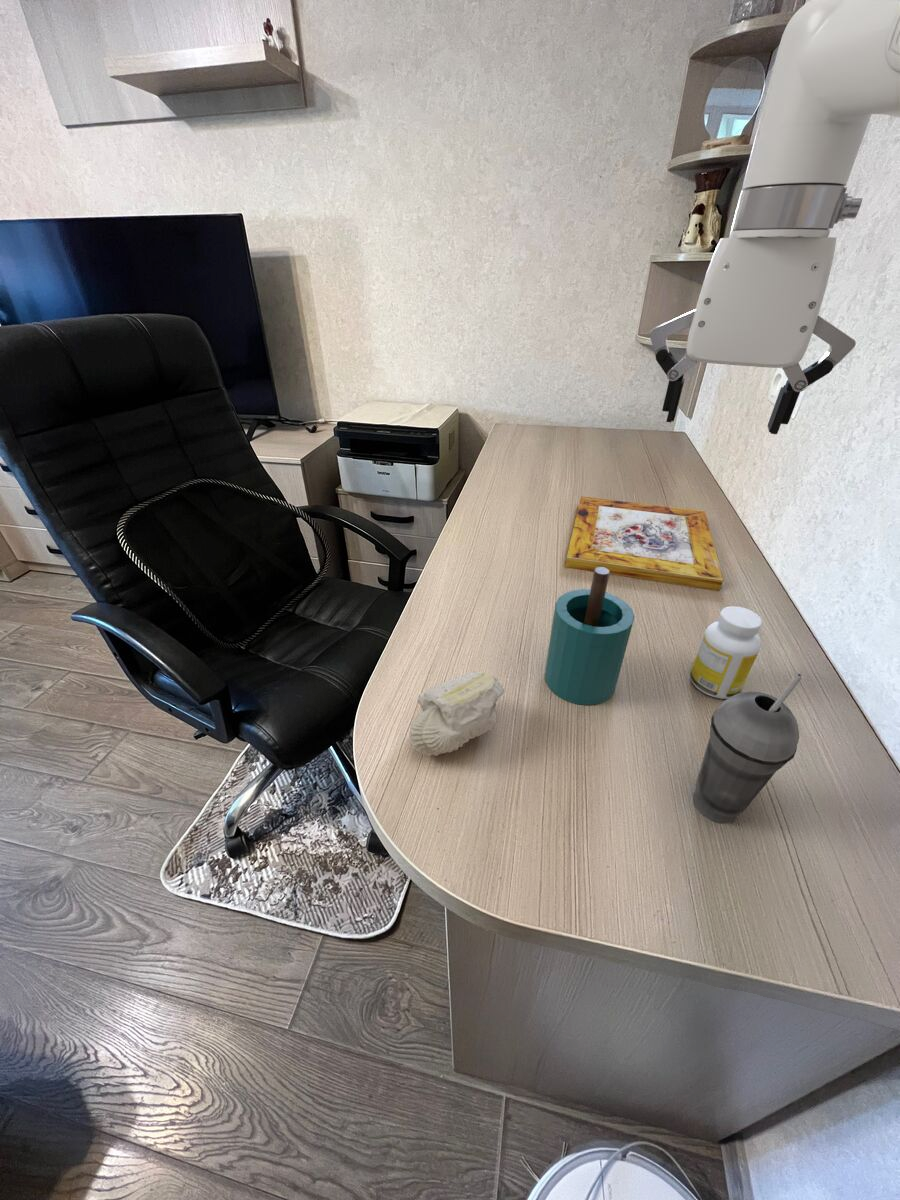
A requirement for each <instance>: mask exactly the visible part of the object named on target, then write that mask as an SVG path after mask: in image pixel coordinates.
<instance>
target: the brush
mask: <svg viewBox="0 0 900 1200" xmlns="http://www.w3.org/2000/svg"><path fill="white" fill-rule="evenodd" d="M610 575H611V574H610V571H609V570H608V569H607V568H604V567H597V568H595V570H594V571H593V575H592V580H591V585H590V589H589V590H590V594H589V600H588V605H587V610H586V615H585V620H584V624H586V625H590V626H593V627H598V624H599V620H600V615H601V611H602V606H603V601H604V597H605V592H607V587H608V582H609V578H610Z"/></svg>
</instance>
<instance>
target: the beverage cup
mask: <svg viewBox="0 0 900 1200" xmlns="http://www.w3.org/2000/svg"><path fill="white" fill-rule="evenodd" d="M803 677H804V675H803V674H802V673H801V672H797V673H796V674H795V676H793V678H792V679H791V681H790V682H789V683H788V685H786V687H785V688H784V690H783V691H782V692H781V694H780V695H779V696H778V697H776V696H773V695H771V694H769V693H765V692H761V691H752V690H751V691H749V690H748V691H744V692H740V693H738V694H736V695H733V696H732V697H730V698H728V699H724V701H723V702H721V704H720V705H719V707H718V708H716V710H715V711H714V712H713V713H712V716H711V719H710V720H711V721H710V728H709V739H708V742H707V745H706V749H705V752H704V756H703V759H702V761H701V765H700V769H699V771H698V775H697V779H696V782H695V784H694V785H695V788H694V792H693V794H692V795H693V796H692V797H693V798H692V801H693V804H694V806H695V808H696V809H697V810H698V812H699V813H700V814H701V815H702V816H703V817H705V818H707V819H708V820H709V821H711V822H714V823H717V824H723V825H727V824H732V823H734V822H735V821H736V820H737V819H738V817H740V816H741V815H742V814H743V813H744V812H745V811H746V810H747V808H748V807H750V804H751V803H752V802H753V801H754V800H755V799H756V797H757V796H758V795H759V794H760V792H761V791H762V789H764V787H765V786H766V785H767V783H768V782H769V781H770V780H771V778H772V777H773V776H774V775H775V774H776V773H777V772H778V771H779V770H780V769H782V768H783V767H784V766H785V765H786V764H787V763H789V762H790V761H791V760H793V759H794V758H795V756H796V753H797V751H798V745H799V741H800V730H799V725H798V721H797V718H796V717H795V715H794V713H793V712H792V710H791V708H789V707H788V706H787V705H786V704H785V703H784V702H785V701H786V700H787V698H788V697H789V696H790V695H791V693H792V692H793V691H794V689H795V688H796V687H797V685H798V684H799V683H800V681H801V680H802V679H803Z"/></svg>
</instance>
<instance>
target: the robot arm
mask: <svg viewBox="0 0 900 1200" xmlns="http://www.w3.org/2000/svg"><path fill="white" fill-rule="evenodd" d="M773 63H774V64H773V68H772V71H771V75H770V80H769V82H768V86H767V92H766V93H765V97H764V98H765V99H764V102H763V106H762V109H761V114H760V118H759V120H758V121H759V122H758V125H757V129H756V132H755V136H754V141H753V144H752V148H751V152H750V155H749V160H748V164H747V168H746V172H745V175H744V179H743V183H742V187H741V191H740V194H739V198H738V202H737V206H736V209H735V214H734V218H733V221H732V225H731V228H730V232H729V236H728V237H721V238H720V239H719V241H718V243H717V245H716V247H715V250H714V252H713V254H712V257H711V260H710V262H709V265H708V268H707V270H706V273H705V277H704V279H703V282H702V286H701V288H700V289H701V290H700V292H699V295H698V299H697V302H696V307H695V309H693V310H691V311H688V312H686V313H684V314H681V315H680V316H678V317H675V318H673V319H671V320H669V321H667V322H664V323H662V324H660V325H657V326H655V327H654V328H653V329H652V330H650V332H649V338H650V342H651V346H652V350H653V353H654V356H655V361H656V362H657V363H658V365H659V367H660V368H661V369H662V371H663V372H664V374H665V375H666V379H667V380H668V384H667V388H666V392H665V397H664V400H663V404H662V408H661V411H662V412H667V417H666V421H665V422H666V423H672V422H674V421H675V419H676V416H677V412H678V409H679V408H678V407H679V403H680V400H681V396H682V392H683V388H684V385H685V380H686V379H685V378H684V375H685V374H686V372H688V371H689V370H690V369H691V368H692V367H694V366H695V365H696V364H697V363H705V364H714V365H715V364H716V365H727V366H742V367H753V368H754V367H756V368H771V369H772V368H773V369H782V371H783V372H784V374H785V376H786V378H787V380H786V381H785V384H783V386H781V387H780V389H779V392H778V395H777V398H776V400H775V403H774V406H773V408H772V411H771V413H770V416H769V420H768V422H767V430H768V433H770V435H778V434H779V431H780V428H781V425H788V424H789V423H790V420H791V418H792V415H793V413H794V410H795V407H796V405H797V401H798V399H799V398H800V395H801V392H804V391H805V390H806V389H807V388H808V387H809V386H811V385H812V384H814V383H815V382H817V381H819V380H820V379H822V378H823V377H825V376H827V375H829V374H830V373H831V372H832V371H833V369H834V368H835V367H836V366H837V365H838V364H840V363H841V362H842V360H843V359H844V358H845V357H847V355H848V354H849V353H850V352H851V351H853V350H854V348H855V347H856V345H857V343H856V340H855V339H854V338H852V337H851V336H850V335H848V334H847V333H845V332H843V331H842V330H841V329H839V328H838V327H836V326H835V325H833V324H832V323H830V322H829V321H827V320H826V319H824V318H823V317H822V316H820V315H819V314H820V310H821V307H822V304H823V302H824V301H823V300H824V298H825V294H826V290H827V286H828V283H829V278H830V275H831V270H832V266H833V262H834V256H835V251H836V246H837V237H830V236H829V235H830V233H831V229H834V226H835V225H837V224H839V222H844V221H845V220H855V219H856V218H857V216H858V214H859V211H860V209H861V206H862V203H863V198H862V197H857V198H855V197H854V198H853V195H851V196H848V195H849V193H848V192H847V189H848V187H847V184H848V182H849V178H850V175H851V173H852V170H853V168H854V164H855V161H856V159H857V156H858V154H859V150H860V149H861V146H862V142H863V140H864V137H865V133H866V131H867V128H868V125H869V123H870V119H871V117H872V115H885V116H890V117H894V118H896V119H900V0H809V1H808V2H805V3H804V4H803V5H802V6H801V7H800V8H799V9H798V10H796V12H794V14H793V15H792V17H790V19H789V21H788V23H787V25H786V26H785V28H784V31H783V33H782V35H781V39H780V42H779V46H778V48H777V52H776V56H775V59H774V62H773ZM687 329H689V332H688V336H687V340H686V351H685V352H686V353H684V355H682V356H681V357H680V358H679V359H676V358H675V356H674V355H673V354H672V352H671V350H670V348H669V344H668V338H669V337H670V336H673V335H675V334H677V333H680V332H682V331H684V330H687ZM813 335H815V336H816V337H817V338H819V339H820V340H822V341H823V342H825V343H826V344H828V346H829V348H828V350H827V351H826V352H825V353H824V355H823V356H822V357H821V358H820V359H818V360H817V361H814V363H812V364H810V365H809V366H807V367H806V368H804V369H802V367H801V364H800V362H801V361H802V360H803V358H804V357H805V354H806V352H807V350H808V347H809V344H810V341H811V339H812V336H813Z"/></svg>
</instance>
